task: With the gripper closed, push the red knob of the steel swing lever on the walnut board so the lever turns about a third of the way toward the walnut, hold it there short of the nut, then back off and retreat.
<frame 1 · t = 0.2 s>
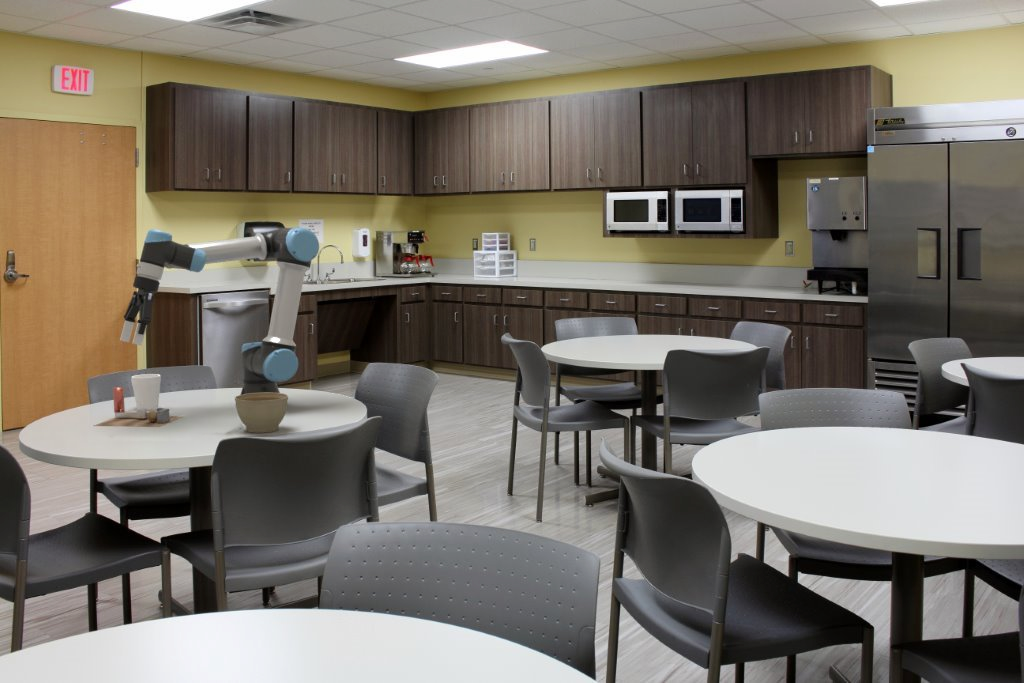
hand: (130, 343, 298), 27 cm above the table, tool tilted 20°, fingers open, 13 cm apart
planter bowl: (262, 431, 297), on the table
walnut: (152, 416, 304), point 3 cm above the table, touching board
board: (139, 425, 306), on the table
two-tone textured tile: (163, 422, 304), resting on board
lever: (140, 402, 310), point 7 cm above the table, hinge at 0.0°
foam cup: (147, 413, 328), on the table
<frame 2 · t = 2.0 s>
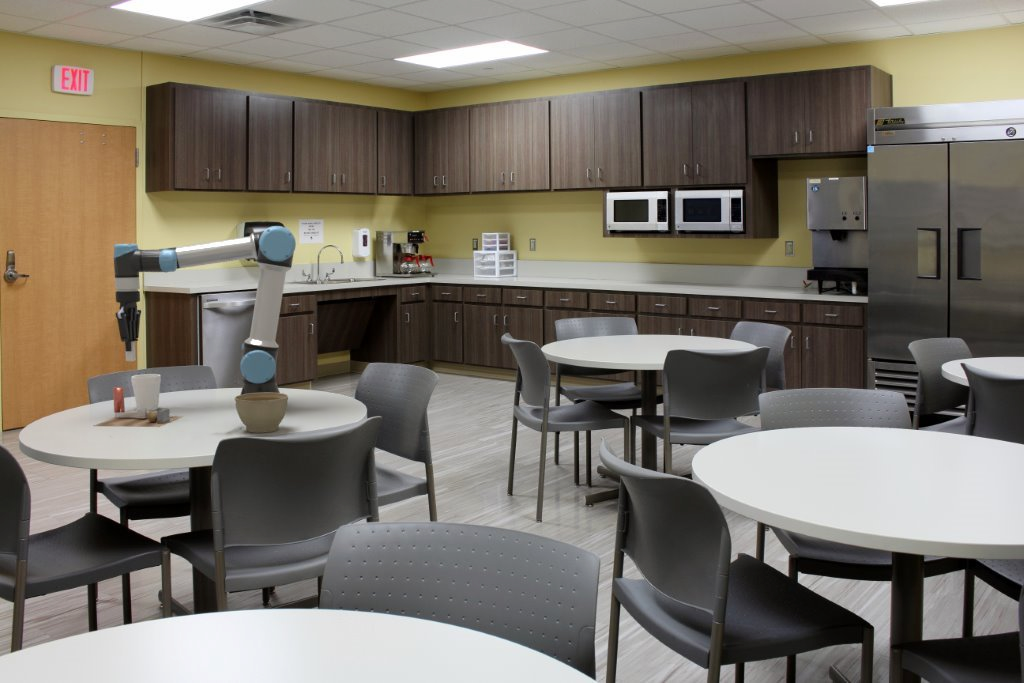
hand: (130, 360, 317), 20 cm above the table, tool pointing down, fingers closed
nothing on the table moved.
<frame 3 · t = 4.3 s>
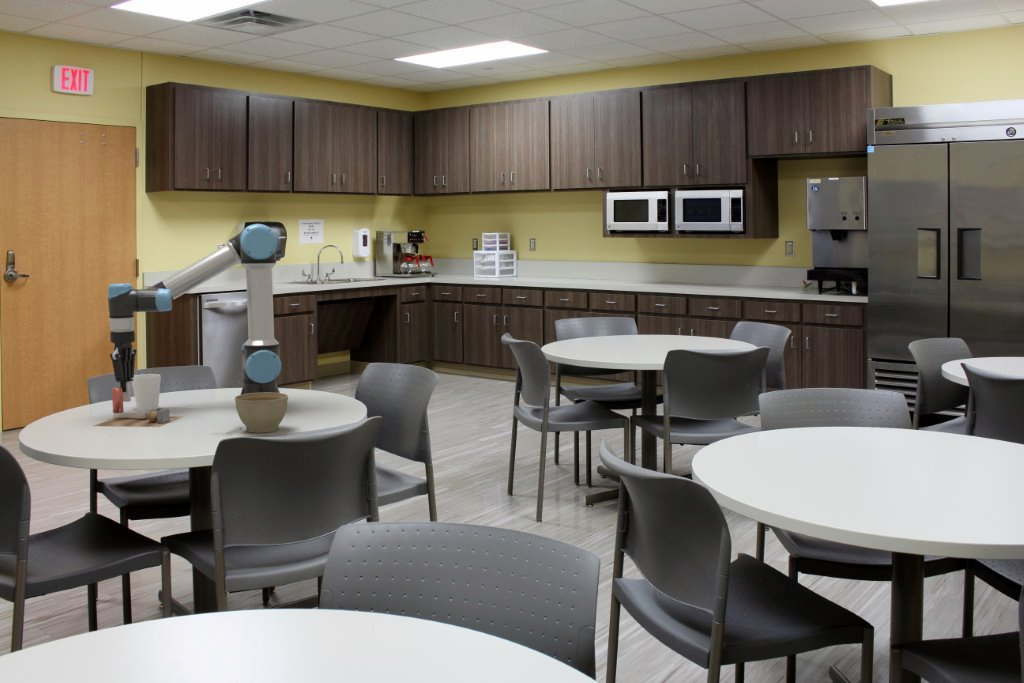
hand: (126, 401, 314), 7 cm above the table, tool pointing down, fingers closed
lever: (140, 402, 310), point 7 cm above the table, hinge at 3.5°, touching gripper
everything else where it was.
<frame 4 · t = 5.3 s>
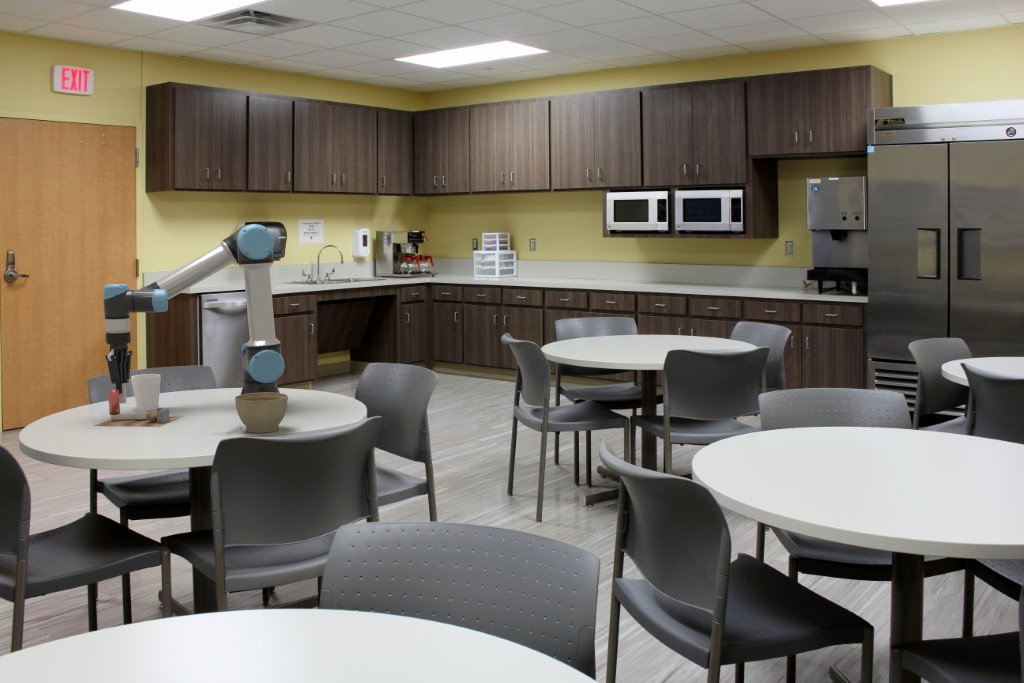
hand: (121, 402, 311), 7 cm above the table, tool pointing down, fingers closed
lever: (138, 403, 308), point 7 cm above the table, hinge at 16.9°, touching gripper
everything else where it was.
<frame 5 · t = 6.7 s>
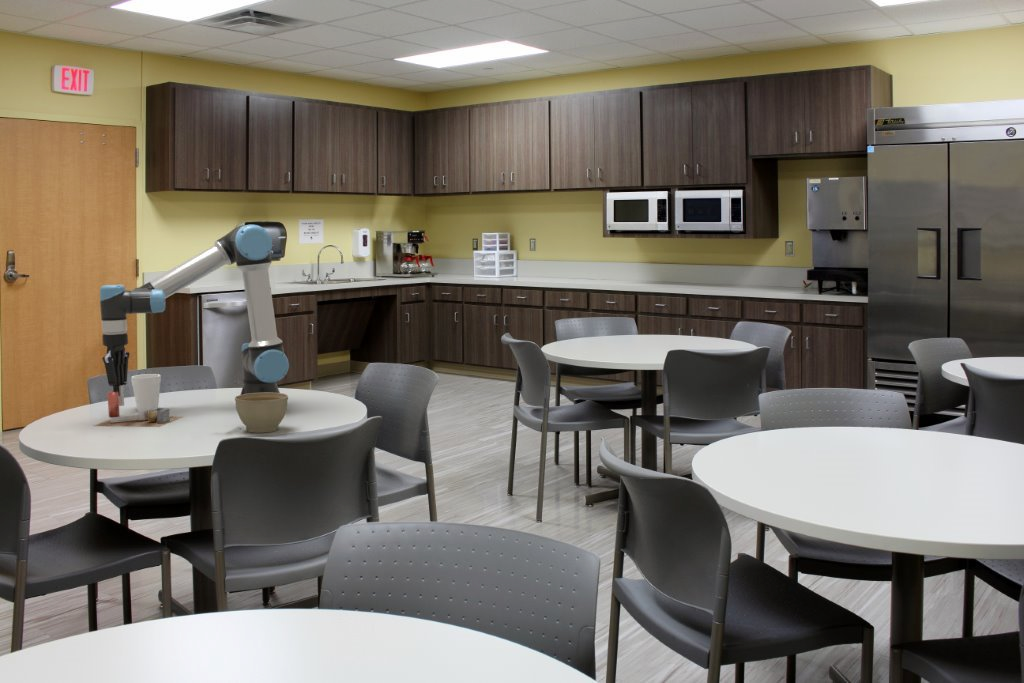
hand: (119, 405, 307), 6 cm above the table, tool pointing down, fingers closed
lever: (138, 404, 306), point 7 cm above the table, hinge at 35.4°, touching gripper
everything else where it was.
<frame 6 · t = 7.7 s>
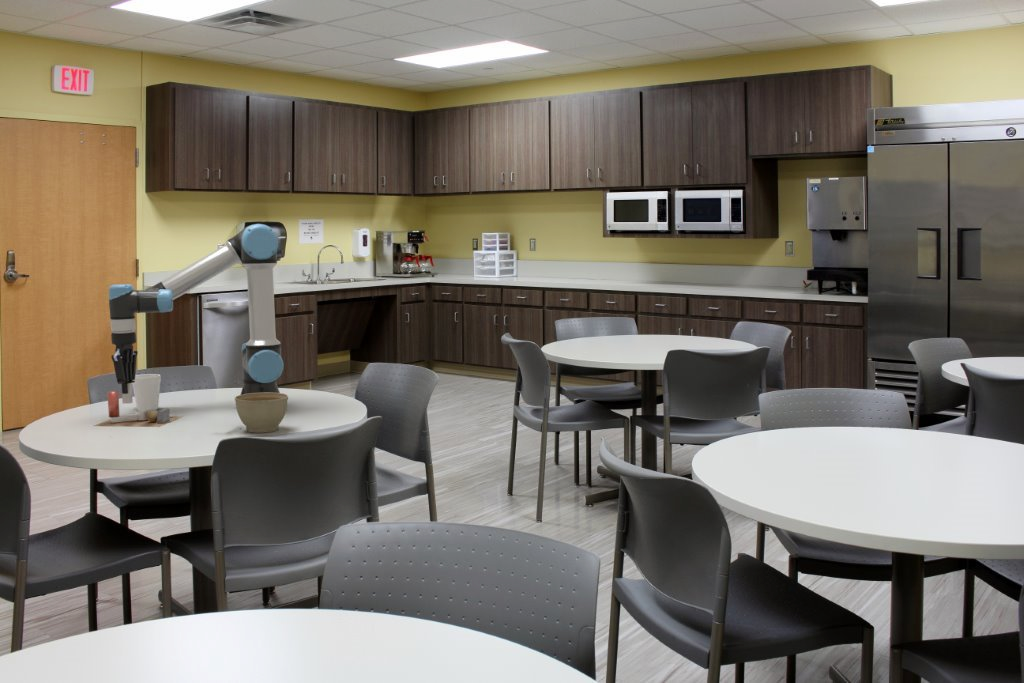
hand: (127, 402, 312), 6 cm above the table, tool pointing down, fingers closed
lever: (138, 404, 306), point 7 cm above the table, hinge at 35.6°
everything else where it was.
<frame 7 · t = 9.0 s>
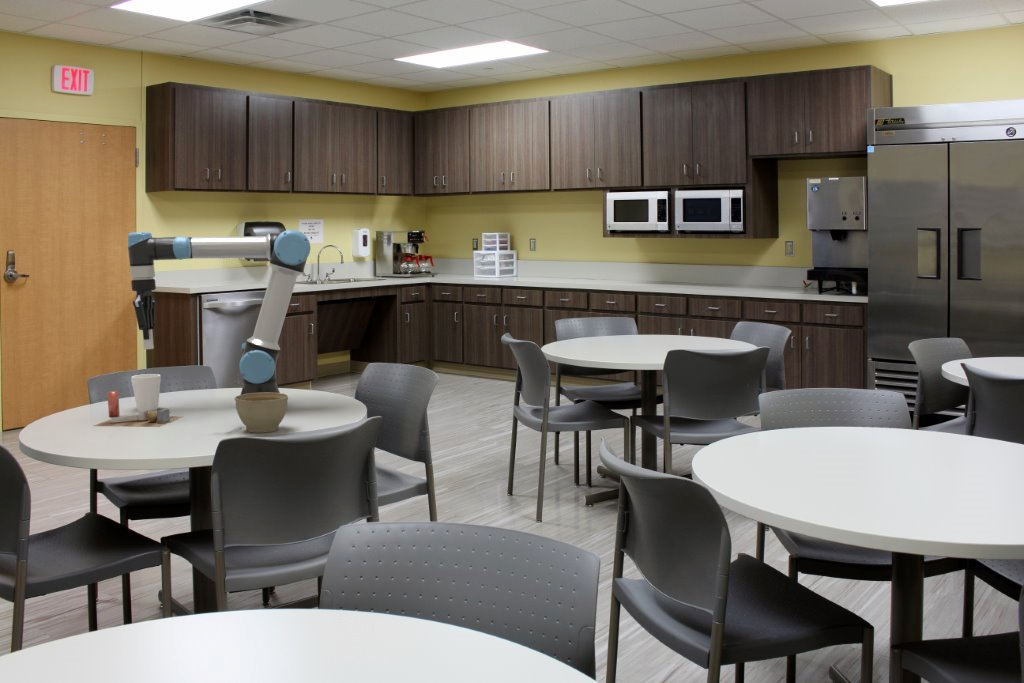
hand: (148, 348, 318), 23 cm above the table, tool pointing down, fingers closed
nothing on the table moved.
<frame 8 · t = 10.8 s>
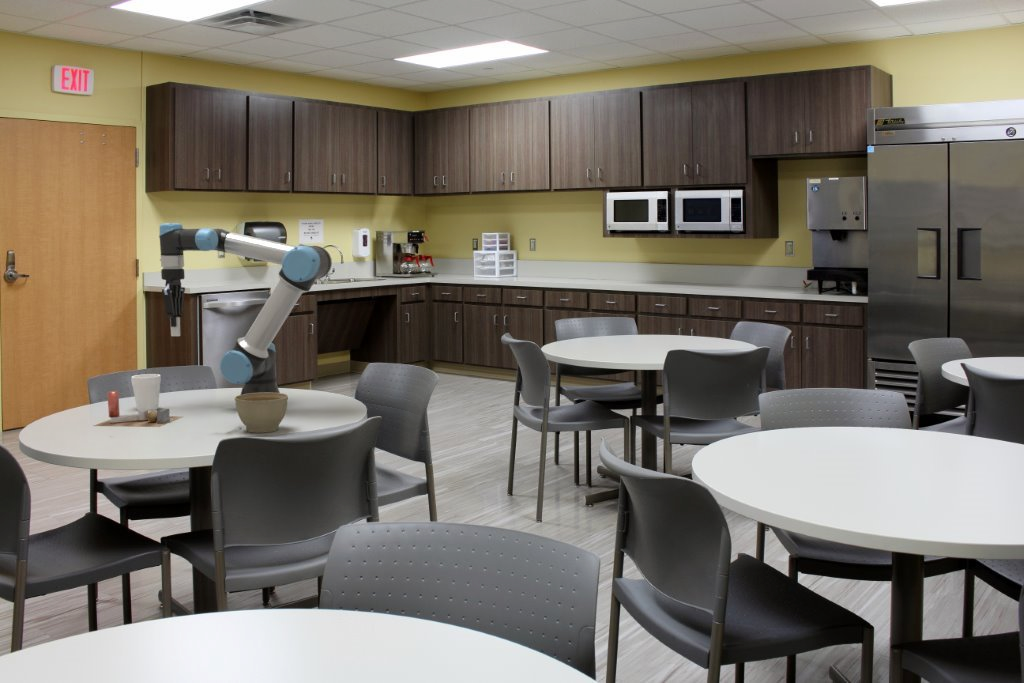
hand: (175, 335, 329), 26 cm above the table, tool pointing down, fingers closed
nothing on the table moved.
at the end: lever at +36° (first picture: +0°); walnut moved 0.0 cm from its start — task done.
